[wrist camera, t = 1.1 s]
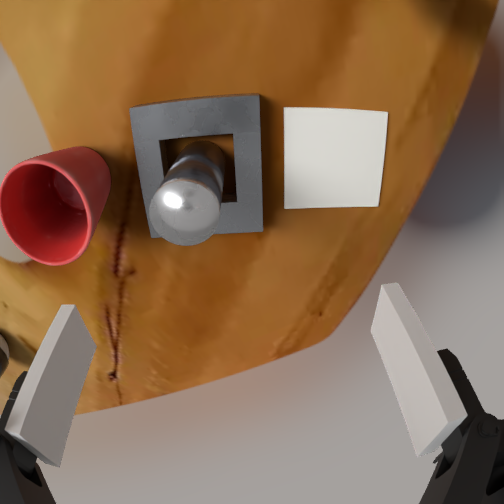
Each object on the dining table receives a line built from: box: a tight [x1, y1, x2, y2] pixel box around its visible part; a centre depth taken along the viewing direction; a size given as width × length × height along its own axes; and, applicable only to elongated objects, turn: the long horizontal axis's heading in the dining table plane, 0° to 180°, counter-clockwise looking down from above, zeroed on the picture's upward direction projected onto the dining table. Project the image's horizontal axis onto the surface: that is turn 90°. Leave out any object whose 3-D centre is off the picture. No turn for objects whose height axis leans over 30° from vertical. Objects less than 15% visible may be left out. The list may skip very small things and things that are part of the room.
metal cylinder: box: [149, 140, 226, 246], centre depth 27 cm, size 5×5×12 cm
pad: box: [284, 107, 388, 209], centre depth 32 cm, size 11×11×1 cm
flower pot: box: [0, 147, 111, 265], centre depth 28 cm, size 11×11×10 cm
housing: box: [129, 93, 263, 238], centre depth 31 cm, size 14×12×2 cm
